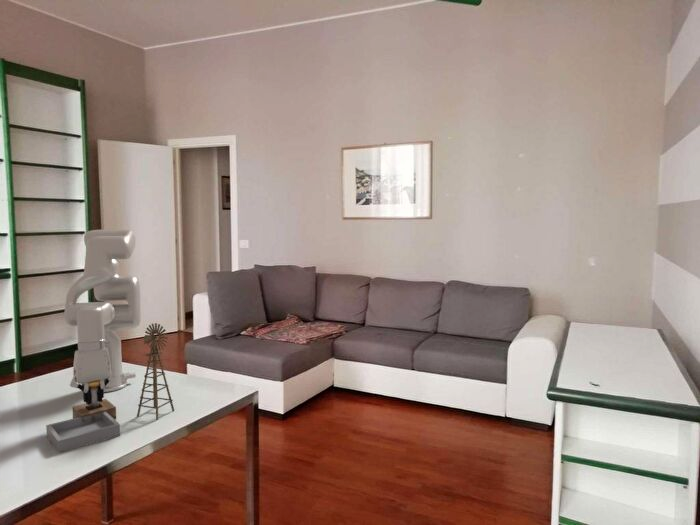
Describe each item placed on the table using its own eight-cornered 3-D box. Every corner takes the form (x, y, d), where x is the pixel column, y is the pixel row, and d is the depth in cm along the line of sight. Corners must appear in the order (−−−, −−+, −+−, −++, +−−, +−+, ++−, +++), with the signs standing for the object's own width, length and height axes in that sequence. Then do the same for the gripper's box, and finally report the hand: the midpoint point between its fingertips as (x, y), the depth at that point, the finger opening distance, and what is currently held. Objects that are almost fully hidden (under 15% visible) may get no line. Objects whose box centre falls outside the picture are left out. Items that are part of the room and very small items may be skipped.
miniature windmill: (175, 410, 161) (173, 322, 158) (158, 420, 153) (155, 327, 150) (153, 407, 164) (151, 320, 161) (135, 416, 156) (132, 325, 153)
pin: (99, 415, 157) (98, 377, 156) (103, 419, 154) (102, 380, 153) (85, 418, 154) (83, 380, 153) (89, 422, 151) (87, 383, 150)
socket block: (106, 410, 161) (105, 398, 161) (116, 419, 154) (115, 407, 153) (72, 418, 154) (72, 406, 154) (81, 428, 147) (81, 415, 147)
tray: (105, 421, 152) (104, 410, 152) (120, 435, 142) (119, 424, 142) (46, 436, 141) (46, 425, 141) (58, 452, 131) (57, 441, 131)
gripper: (115, 339, 160) (116, 393, 162) (59, 347, 149) (61, 405, 151) (122, 343, 155) (124, 399, 156) (65, 352, 144) (68, 412, 145)
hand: (93, 401), depth 153 cm, fingers closed on pin, 2 cm apart
